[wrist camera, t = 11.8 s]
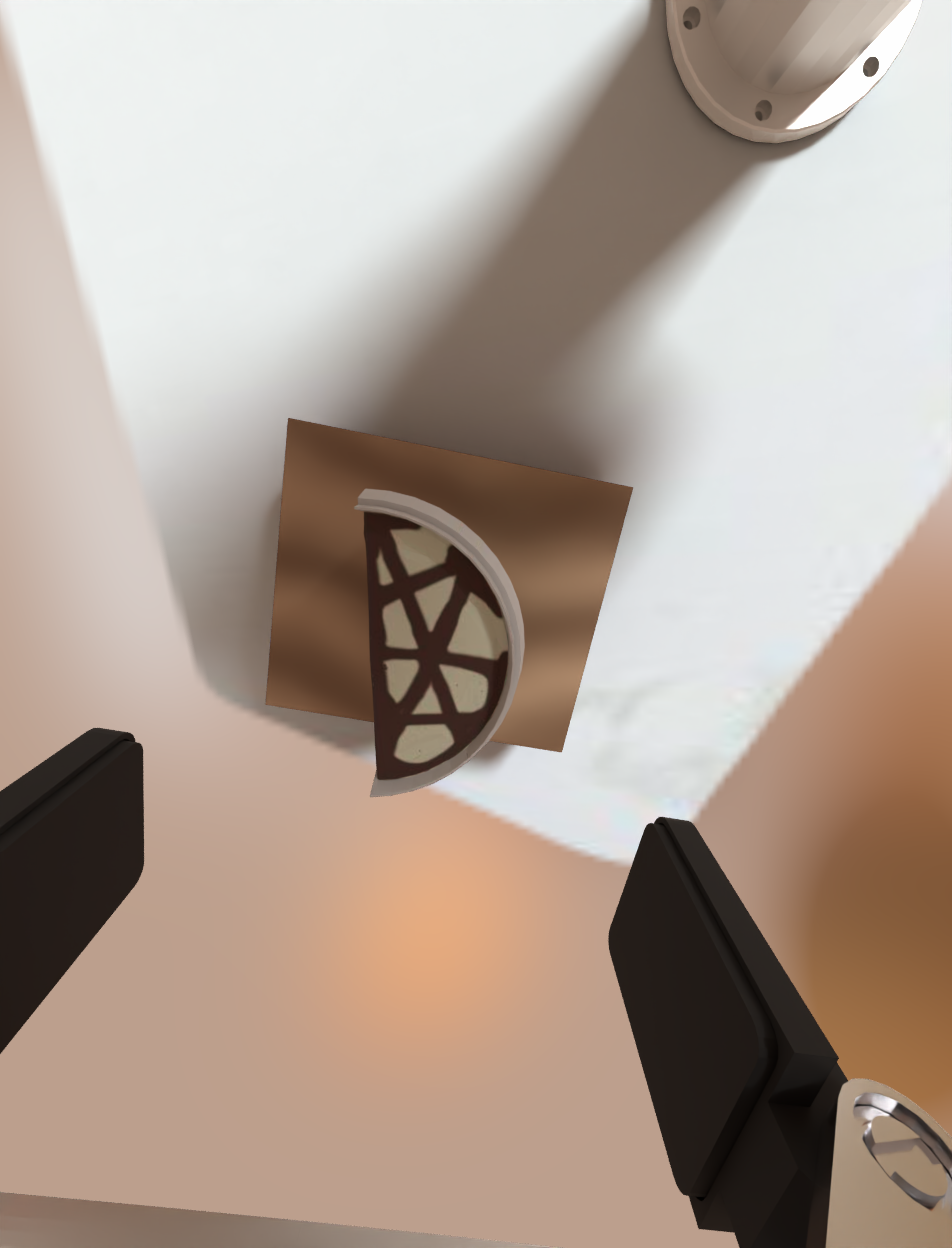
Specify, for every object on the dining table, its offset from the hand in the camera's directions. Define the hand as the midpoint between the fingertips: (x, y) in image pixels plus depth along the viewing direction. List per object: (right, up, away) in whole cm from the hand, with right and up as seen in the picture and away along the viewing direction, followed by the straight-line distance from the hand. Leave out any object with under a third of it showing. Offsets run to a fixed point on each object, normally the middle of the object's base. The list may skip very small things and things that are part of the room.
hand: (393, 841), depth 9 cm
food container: (0, +5, +19) cm, 20 cm away
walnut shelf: (-1, +7, +24) cm, 25 cm away
